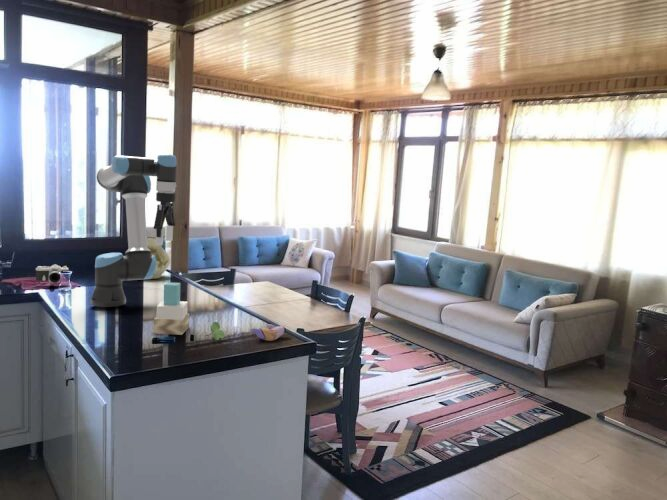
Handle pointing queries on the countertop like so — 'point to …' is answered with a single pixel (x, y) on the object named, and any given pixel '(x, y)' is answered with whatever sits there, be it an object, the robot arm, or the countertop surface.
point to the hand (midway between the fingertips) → (164, 242)
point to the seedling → (214, 329)
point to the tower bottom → (171, 326)
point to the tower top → (172, 311)
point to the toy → (269, 332)
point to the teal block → (172, 293)
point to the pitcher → (158, 257)
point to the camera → (49, 273)
